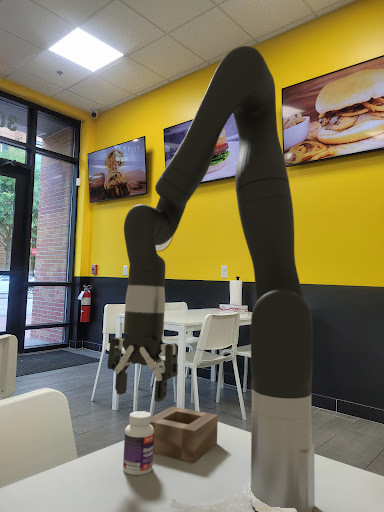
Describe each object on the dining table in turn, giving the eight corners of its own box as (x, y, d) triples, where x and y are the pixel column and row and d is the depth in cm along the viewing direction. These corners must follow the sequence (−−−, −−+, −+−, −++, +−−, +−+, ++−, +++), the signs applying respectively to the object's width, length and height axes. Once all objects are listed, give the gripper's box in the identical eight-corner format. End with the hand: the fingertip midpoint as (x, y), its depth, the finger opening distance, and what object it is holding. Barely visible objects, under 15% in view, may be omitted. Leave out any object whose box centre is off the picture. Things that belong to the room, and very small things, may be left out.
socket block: (217, 443, 81) (217, 414, 82) (193, 463, 71) (194, 430, 72) (171, 433, 87) (172, 406, 87) (142, 450, 76) (144, 420, 77)
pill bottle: (147, 478, 65) (149, 420, 66) (118, 474, 66) (121, 417, 67) (156, 464, 70) (158, 411, 71) (129, 461, 71) (131, 408, 72)
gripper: (186, 311, 71) (182, 399, 70) (126, 307, 78) (121, 387, 76) (167, 312, 65) (161, 409, 63) (102, 307, 71) (96, 395, 69)
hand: (139, 397), depth 70 cm, fingers open, 8 cm apart
